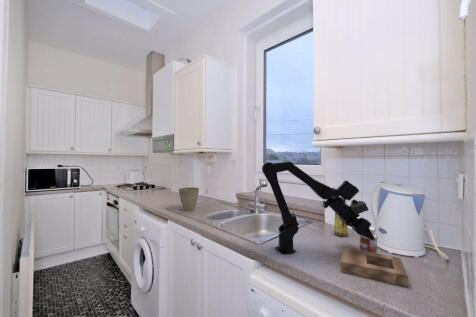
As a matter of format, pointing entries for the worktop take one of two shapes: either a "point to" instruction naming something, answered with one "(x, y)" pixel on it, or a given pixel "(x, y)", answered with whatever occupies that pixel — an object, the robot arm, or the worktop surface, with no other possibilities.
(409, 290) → the worktop surface
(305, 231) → the worktop surface
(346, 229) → the sauce bottle
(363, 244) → the pill bottle
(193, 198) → the plant pot
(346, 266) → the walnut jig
